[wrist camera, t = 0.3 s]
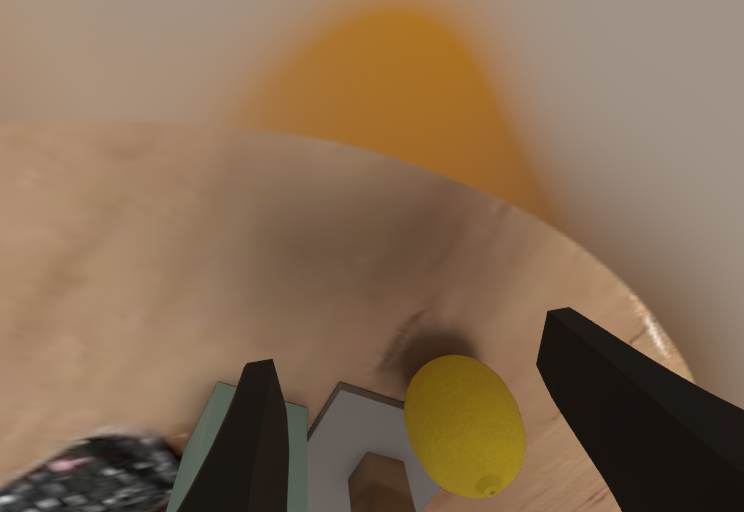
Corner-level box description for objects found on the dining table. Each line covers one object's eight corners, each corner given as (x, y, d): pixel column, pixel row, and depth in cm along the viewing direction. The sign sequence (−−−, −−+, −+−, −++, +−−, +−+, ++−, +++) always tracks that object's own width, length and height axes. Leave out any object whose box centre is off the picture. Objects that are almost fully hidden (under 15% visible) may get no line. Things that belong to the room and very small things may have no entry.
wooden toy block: (383, 488, 28) (396, 562, 24) (347, 479, 27) (355, 554, 23) (403, 461, 27) (420, 533, 23) (367, 451, 26) (378, 524, 22)
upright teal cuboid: (270, 468, 27) (260, 587, 21) (185, 447, 25) (148, 570, 19) (306, 408, 25) (307, 518, 19) (218, 381, 23) (189, 494, 17)
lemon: (378, 395, 25) (407, 531, 18) (411, 317, 23) (459, 436, 16) (462, 409, 27) (520, 540, 20) (500, 336, 25) (580, 453, 18)
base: (401, 525, 31) (403, 534, 30) (268, 496, 28) (267, 505, 27) (480, 427, 28) (483, 435, 27) (339, 382, 25) (340, 389, 24)
